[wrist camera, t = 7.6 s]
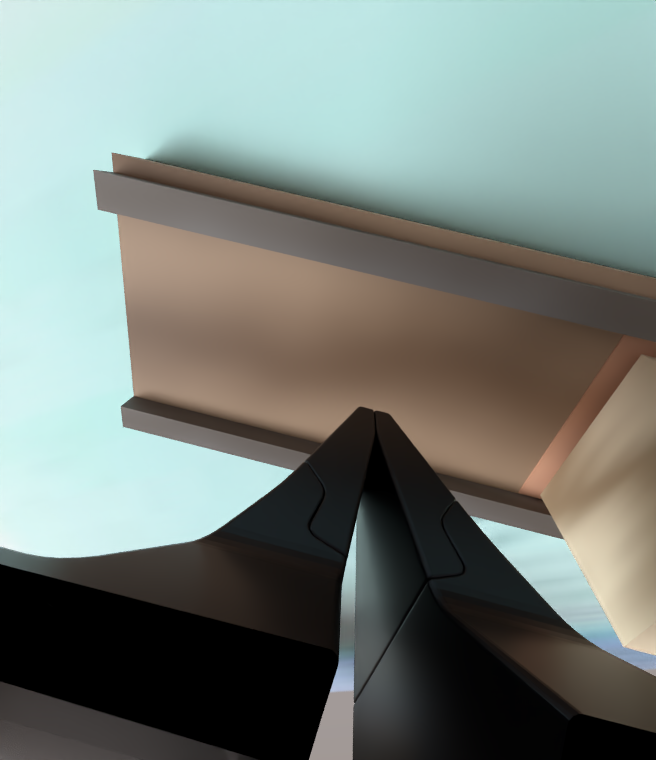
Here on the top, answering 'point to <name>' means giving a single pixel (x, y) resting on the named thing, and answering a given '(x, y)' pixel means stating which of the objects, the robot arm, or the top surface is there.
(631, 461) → the slider block
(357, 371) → the slider track
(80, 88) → the top surface
